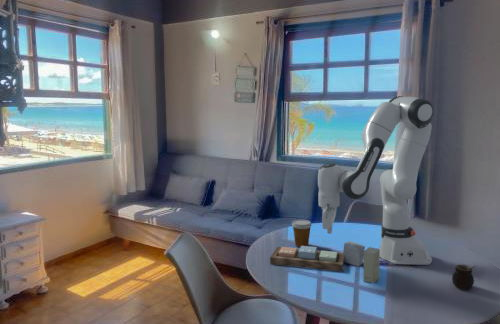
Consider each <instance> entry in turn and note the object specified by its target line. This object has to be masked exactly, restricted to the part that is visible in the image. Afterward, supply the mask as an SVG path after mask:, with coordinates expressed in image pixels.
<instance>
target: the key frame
mask: <svg viewBox="0 0 500 324" xmlns="http://www.w3.org/2000/svg"><path fill="white" fill-rule="evenodd" d="M281 247H282V246H277V247H275V249H274V251H273V253H272V254H271V255H270V257H269V260H270V261H269V264H270V265H277V266H278V265H280V266H288V267H298V268H306V269H315V270H316V269H317V270H325V271H333V272H343V270H344V265H345V264H344V263H345V262H344V256H343V252H337V251H336V252H337V261H336V262H330V261H320V260H319V255H320V253H321V251H322V250H317V254H316V257H315V259H305V258H298V251H299V249H300V248H297V255H296V257H295V258H290V257H280V256H278V252H279V251H280V249H281Z"/></svg>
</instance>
